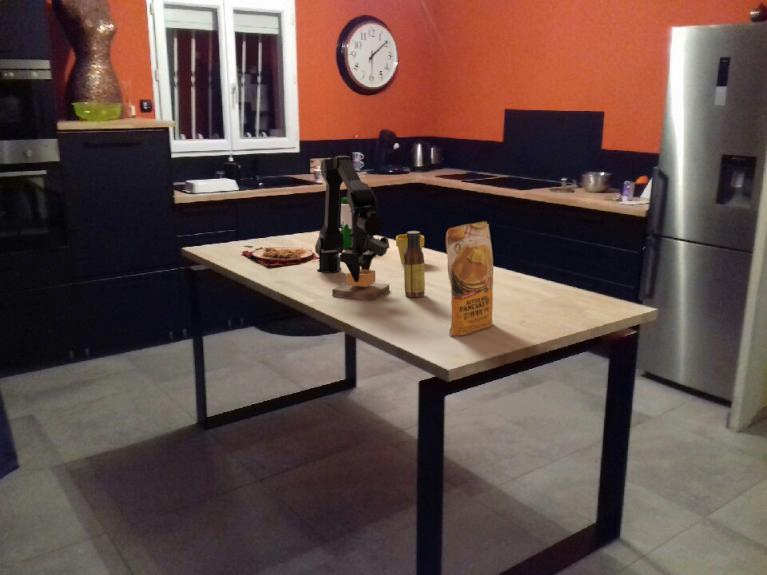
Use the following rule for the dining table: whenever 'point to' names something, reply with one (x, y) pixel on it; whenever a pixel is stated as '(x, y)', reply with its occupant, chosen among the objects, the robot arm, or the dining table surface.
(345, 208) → the milk carton
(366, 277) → the orange square ring
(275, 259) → the plate with food
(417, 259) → the sauce bottle
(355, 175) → the robot arm
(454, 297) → the pancake mix bag
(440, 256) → the dining table surface
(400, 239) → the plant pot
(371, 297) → the brown peg board
